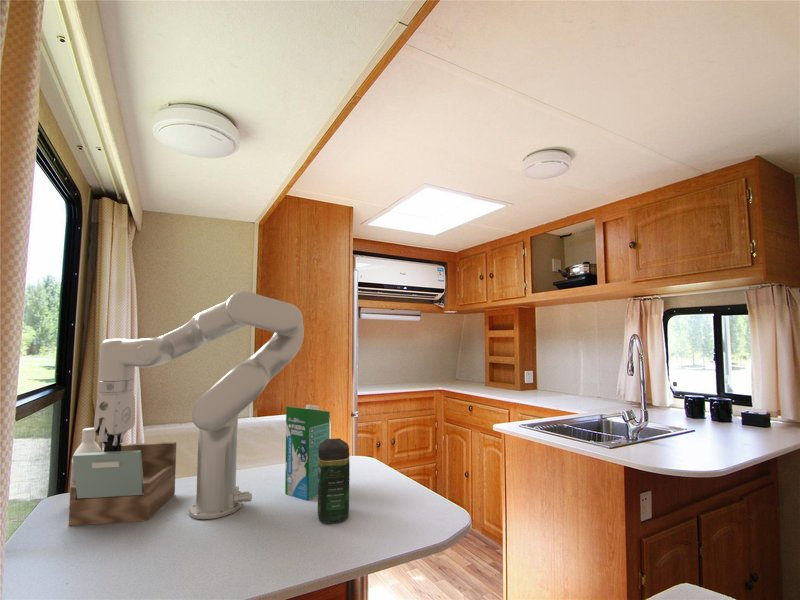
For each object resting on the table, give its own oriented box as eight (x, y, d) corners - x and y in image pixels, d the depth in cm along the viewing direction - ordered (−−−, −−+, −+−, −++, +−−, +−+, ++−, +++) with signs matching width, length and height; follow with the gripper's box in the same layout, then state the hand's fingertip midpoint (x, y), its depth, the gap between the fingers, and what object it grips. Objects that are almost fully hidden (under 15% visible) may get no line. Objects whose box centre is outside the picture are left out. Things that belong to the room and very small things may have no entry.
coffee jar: (351, 522, 98) (351, 444, 100) (318, 526, 96) (318, 447, 98) (347, 506, 107) (347, 435, 109) (317, 509, 106) (317, 437, 107)
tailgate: (144, 491, 102) (141, 450, 101) (140, 495, 100) (137, 454, 99) (80, 495, 100) (75, 453, 99) (75, 500, 98) (71, 457, 97)
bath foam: (67, 509, 108) (71, 432, 109) (70, 500, 113) (74, 428, 115) (99, 503, 111) (103, 429, 113) (101, 495, 117) (104, 424, 119)
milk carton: (329, 489, 119) (330, 403, 121) (307, 500, 111) (308, 408, 113) (307, 484, 124) (308, 401, 126) (284, 494, 116) (285, 405, 118)
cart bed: (174, 495, 116) (176, 441, 118) (147, 520, 101) (150, 458, 102) (106, 499, 114) (109, 444, 115) (68, 525, 98) (71, 462, 99)
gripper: (114, 391, 96) (110, 470, 94) (146, 383, 111) (143, 452, 109) (80, 391, 95) (75, 471, 94) (117, 384, 110) (113, 453, 108)
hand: (111, 461), depth 101 cm, fingers closed
